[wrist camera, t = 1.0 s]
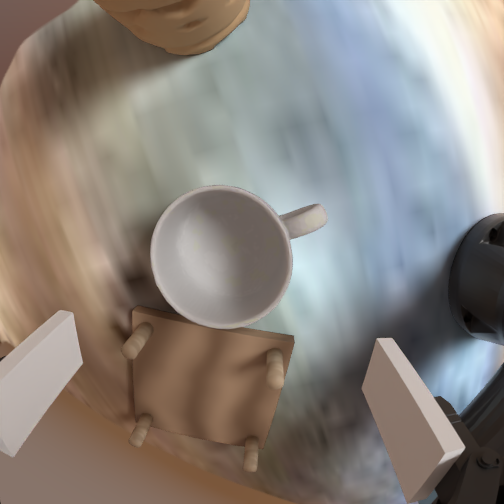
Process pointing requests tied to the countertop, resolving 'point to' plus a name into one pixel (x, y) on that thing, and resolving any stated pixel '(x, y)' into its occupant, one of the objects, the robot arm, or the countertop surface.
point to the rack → (205, 380)
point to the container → (179, 21)
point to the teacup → (226, 254)
